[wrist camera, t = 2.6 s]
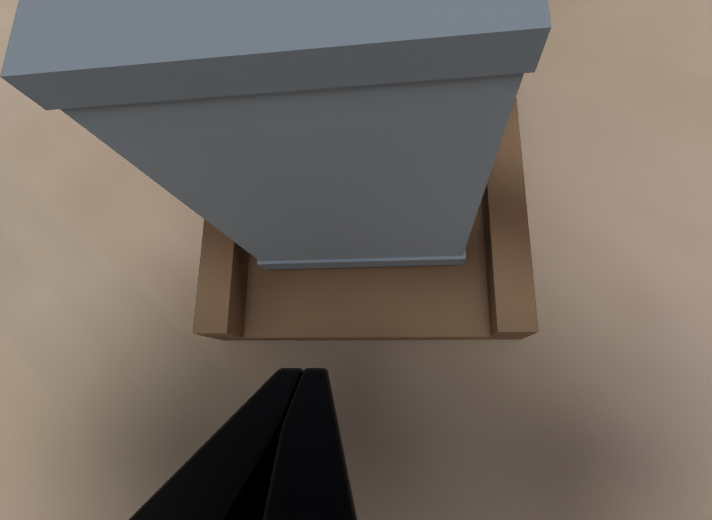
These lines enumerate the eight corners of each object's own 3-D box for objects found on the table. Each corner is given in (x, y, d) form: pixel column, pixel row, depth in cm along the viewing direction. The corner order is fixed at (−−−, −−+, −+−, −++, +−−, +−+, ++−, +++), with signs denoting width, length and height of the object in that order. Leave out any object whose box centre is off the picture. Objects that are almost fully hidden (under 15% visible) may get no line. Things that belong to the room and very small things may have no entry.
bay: (521, 339, 16) (562, 321, 12) (223, 340, 18) (151, 324, 13) (486, -77, 21) (505, -209, 17) (255, -49, 23) (211, -163, 18)
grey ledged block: (463, 265, 16) (551, 27, 5) (265, 270, 17) (0, 76, 6) (455, 109, 18) (509, -315, 7) (274, 122, 19) (75, -235, 8)
